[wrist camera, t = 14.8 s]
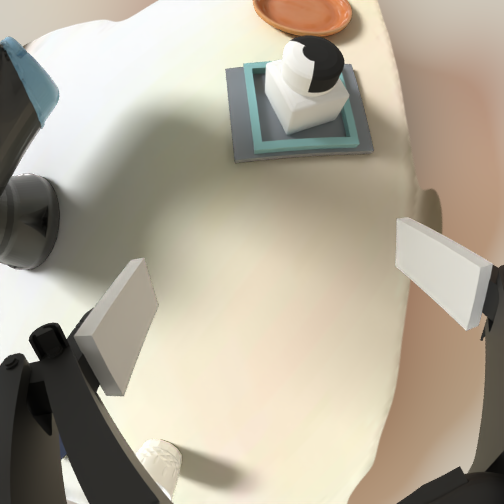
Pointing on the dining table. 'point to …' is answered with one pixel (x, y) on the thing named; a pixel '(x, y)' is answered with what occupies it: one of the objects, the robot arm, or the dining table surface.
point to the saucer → (305, 15)
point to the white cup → (161, 464)
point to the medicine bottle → (306, 83)
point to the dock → (271, 131)
